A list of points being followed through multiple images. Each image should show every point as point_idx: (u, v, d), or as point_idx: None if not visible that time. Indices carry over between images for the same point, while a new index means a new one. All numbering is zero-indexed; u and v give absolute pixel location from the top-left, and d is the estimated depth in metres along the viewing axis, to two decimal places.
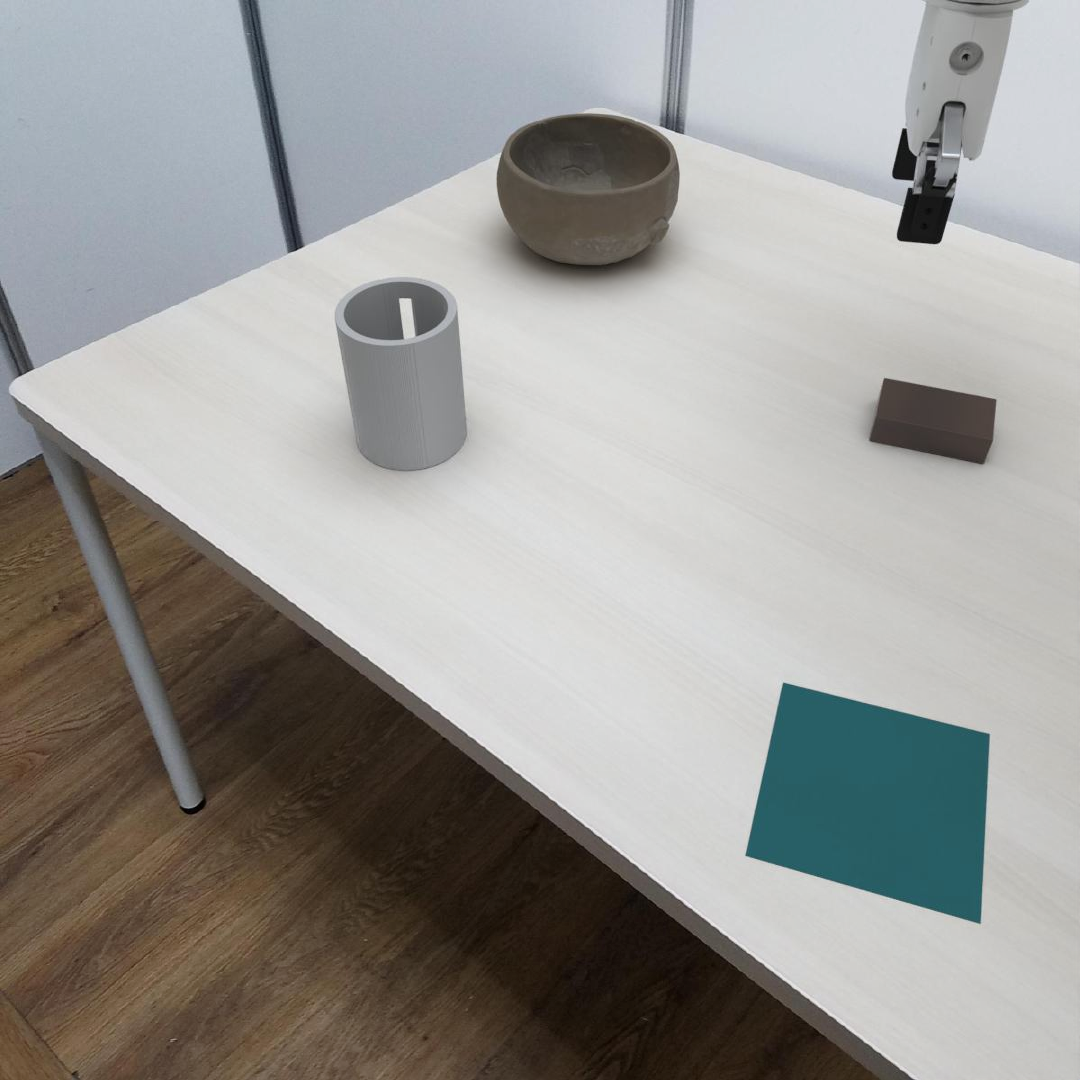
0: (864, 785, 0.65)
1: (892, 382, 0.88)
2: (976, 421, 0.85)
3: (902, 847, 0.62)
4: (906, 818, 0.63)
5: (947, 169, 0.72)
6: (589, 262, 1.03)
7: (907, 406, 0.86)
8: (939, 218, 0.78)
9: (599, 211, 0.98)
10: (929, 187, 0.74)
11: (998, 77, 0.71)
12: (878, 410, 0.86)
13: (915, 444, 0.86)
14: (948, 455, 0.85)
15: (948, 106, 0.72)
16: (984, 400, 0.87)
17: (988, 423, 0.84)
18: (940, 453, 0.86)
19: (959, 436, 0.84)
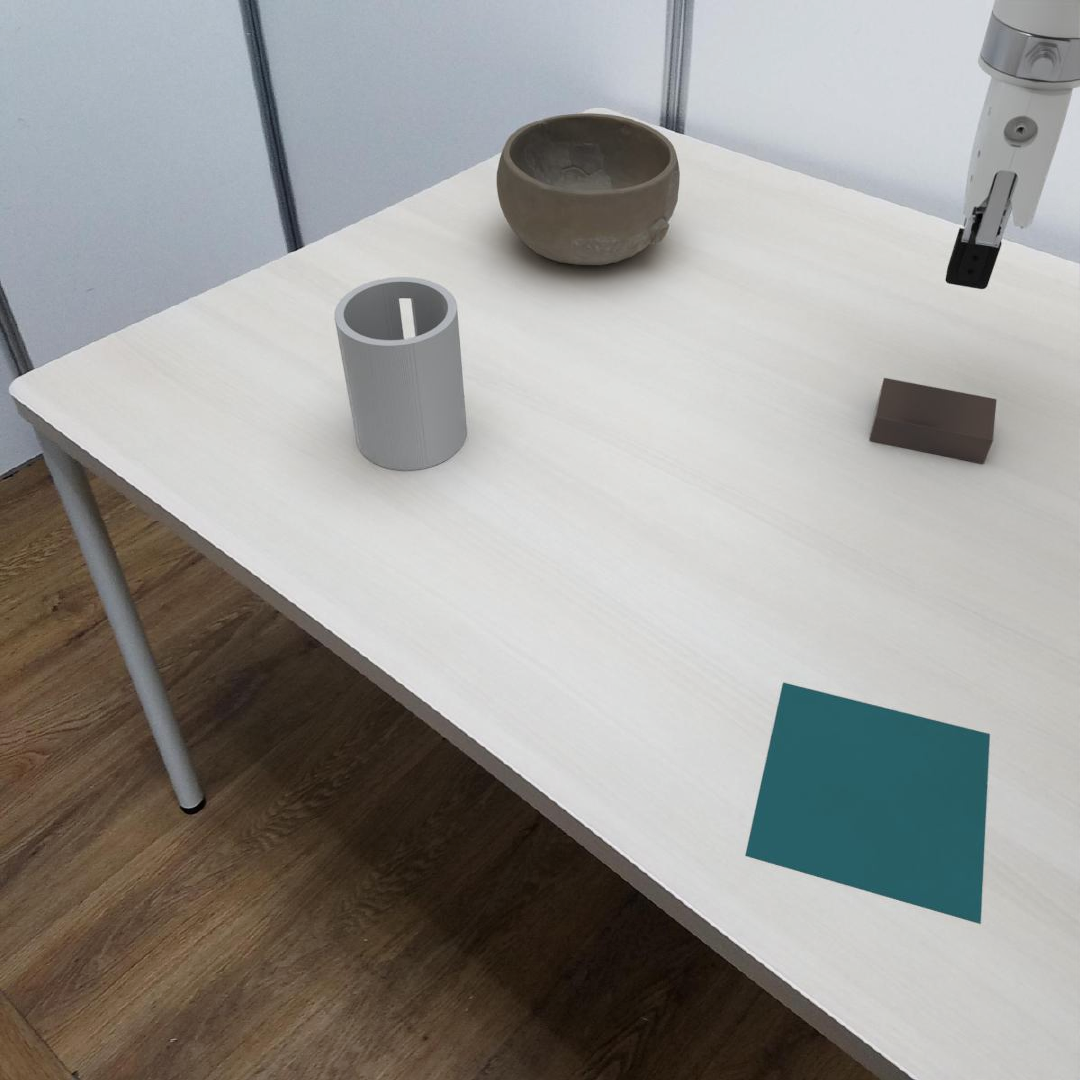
0: (864, 785, 0.65)
1: (892, 382, 0.88)
2: (976, 421, 0.85)
3: (902, 847, 0.62)
4: (906, 818, 0.63)
5: None
6: (589, 262, 1.03)
7: (907, 406, 0.86)
8: (986, 265, 0.83)
9: (599, 211, 0.98)
10: (974, 237, 0.80)
11: (1052, 152, 0.72)
12: (878, 410, 0.86)
13: (915, 444, 0.86)
14: (948, 455, 0.85)
15: (996, 186, 0.75)
16: (984, 400, 0.87)
17: (988, 423, 0.84)
18: (940, 453, 0.86)
19: (959, 436, 0.84)
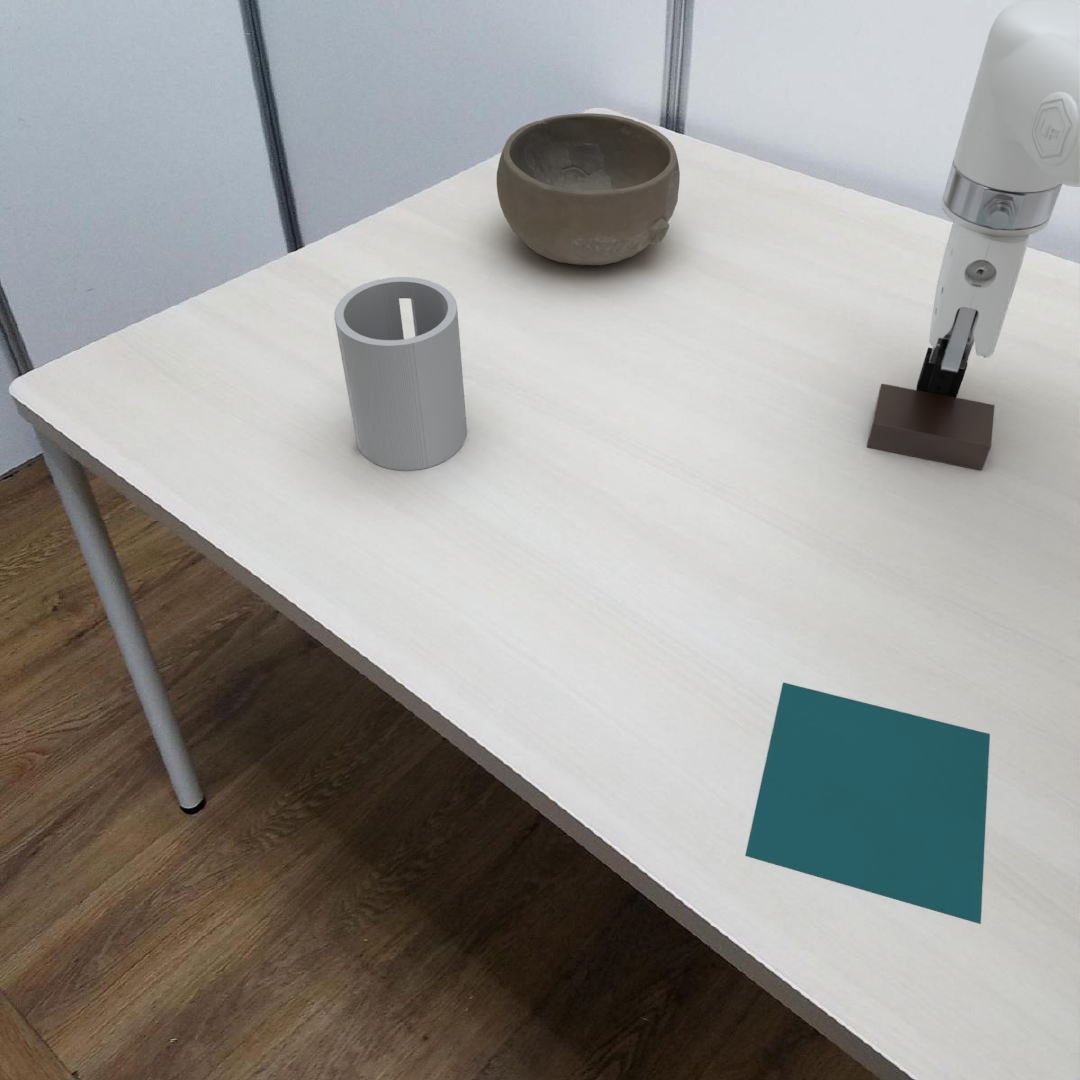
0: (864, 785, 0.65)
1: (889, 388, 0.88)
2: (974, 427, 0.84)
3: (902, 847, 0.62)
4: (906, 818, 0.63)
5: None
6: (589, 262, 1.03)
7: (904, 412, 0.86)
8: (953, 383, 0.87)
9: (599, 211, 0.98)
10: (941, 360, 0.84)
11: (1010, 292, 0.76)
12: (875, 416, 0.85)
13: (913, 450, 0.85)
14: (946, 461, 0.85)
15: (959, 320, 0.79)
16: (982, 406, 0.86)
17: (986, 430, 0.84)
18: (938, 459, 0.85)
19: (957, 443, 0.83)
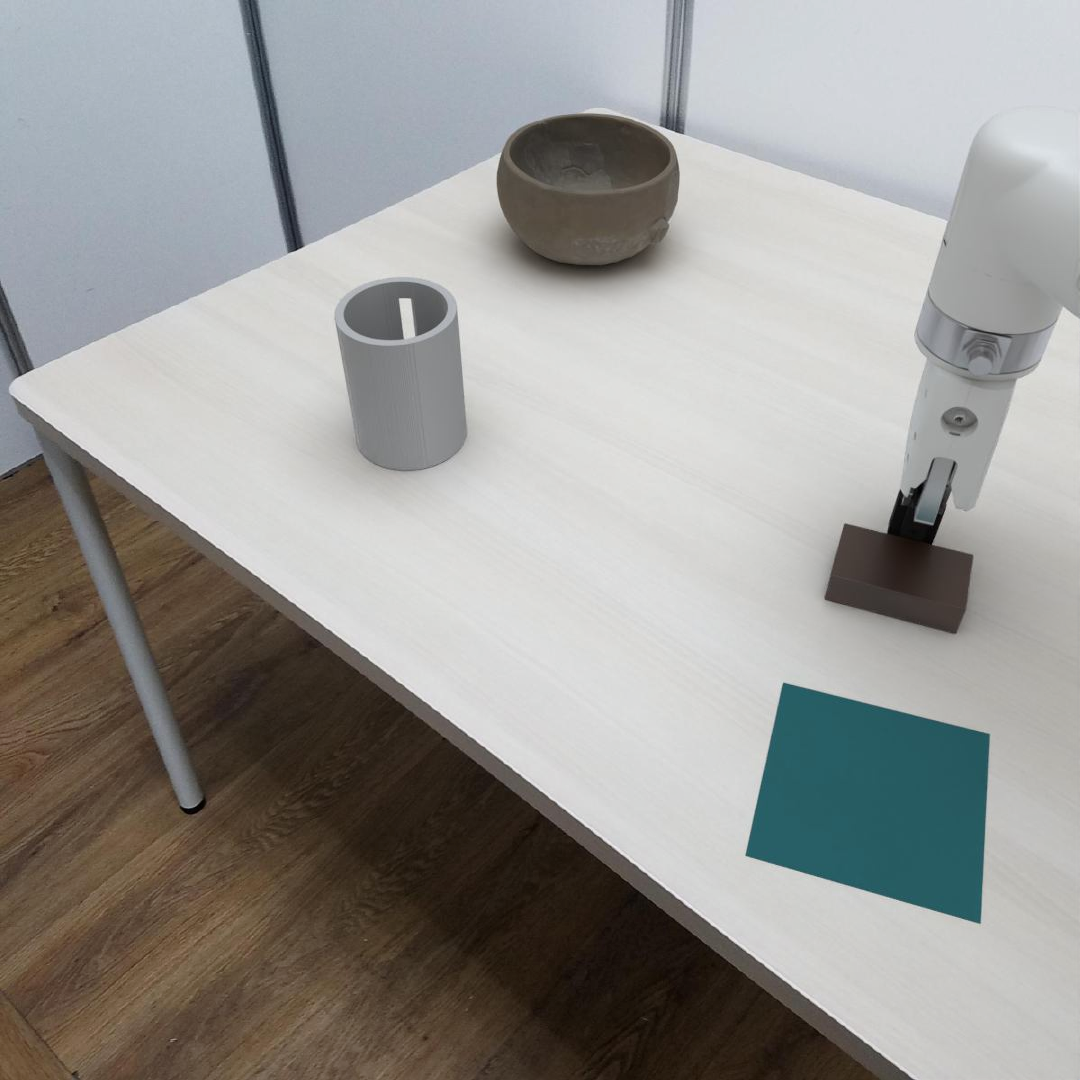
0: (864, 785, 0.65)
1: (853, 529, 0.76)
2: (948, 584, 0.73)
3: (902, 847, 0.62)
4: (906, 818, 0.63)
5: None
6: (589, 262, 1.03)
7: (868, 562, 0.74)
8: (930, 526, 0.75)
9: (599, 211, 0.98)
10: (915, 506, 0.72)
11: (994, 443, 0.64)
12: (834, 566, 0.74)
13: (876, 607, 0.74)
14: (914, 621, 0.73)
15: (934, 468, 0.67)
16: (959, 555, 0.74)
17: (961, 588, 0.72)
18: (905, 618, 0.74)
19: (926, 603, 0.72)
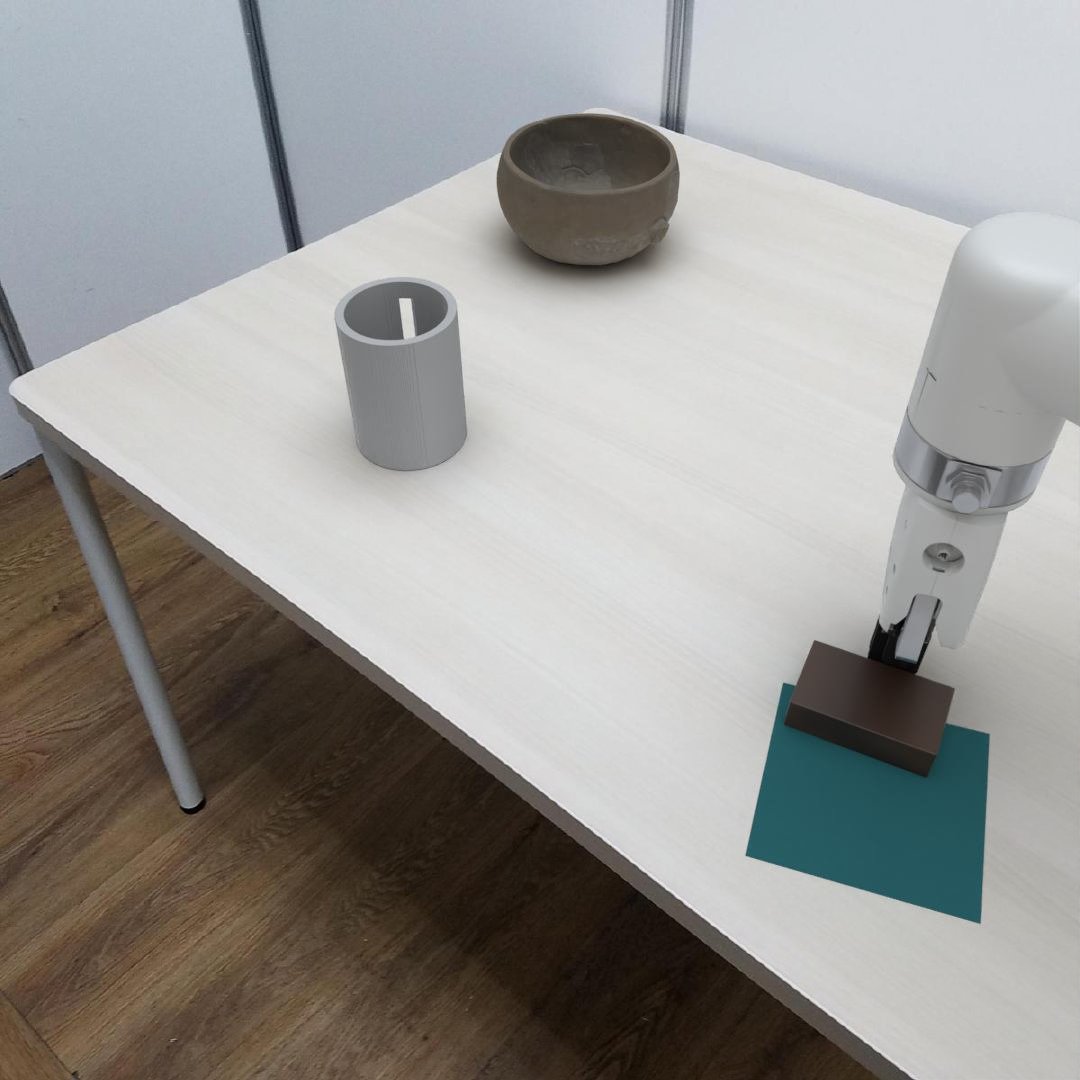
0: (864, 785, 0.65)
1: (823, 648, 0.69)
2: (921, 722, 0.65)
3: (902, 847, 0.62)
4: (906, 818, 0.63)
5: None
6: (589, 262, 1.03)
7: (834, 688, 0.67)
8: None
9: (599, 211, 0.98)
10: None
11: (983, 581, 0.57)
12: (795, 691, 0.66)
13: (840, 740, 0.66)
14: (881, 759, 0.66)
15: (917, 604, 0.60)
16: (939, 688, 0.67)
17: (935, 728, 0.64)
18: (871, 755, 0.66)
19: (894, 743, 0.64)
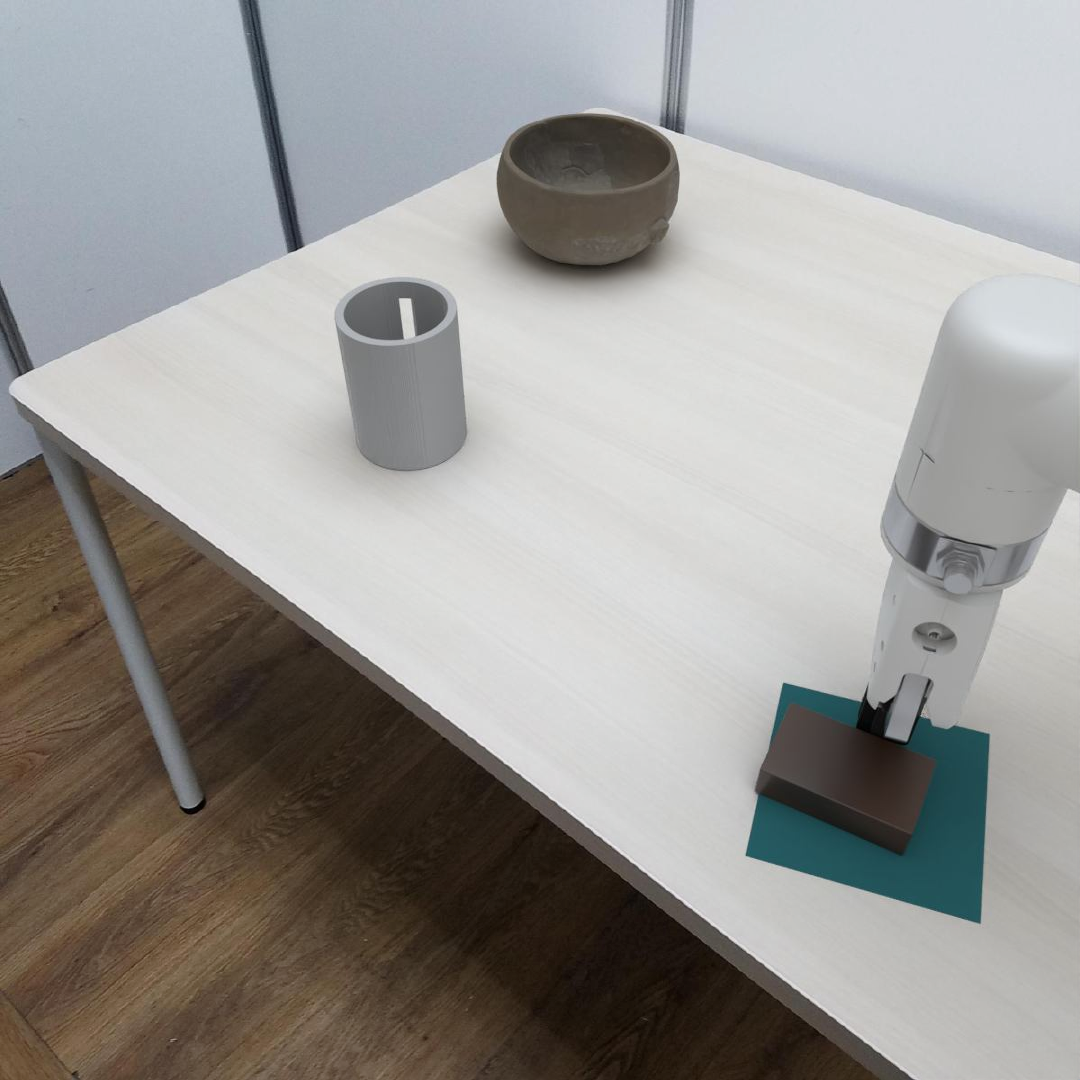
0: None
1: (800, 711, 0.65)
2: (898, 797, 0.61)
3: None
4: None
5: None
6: (589, 262, 1.03)
7: (808, 756, 0.63)
8: None
9: (599, 211, 0.98)
10: None
11: (977, 662, 0.53)
12: (766, 758, 0.63)
13: (812, 811, 0.63)
14: (855, 834, 0.62)
15: (907, 682, 0.56)
16: (919, 760, 0.63)
17: (913, 804, 0.61)
18: (845, 829, 0.62)
19: (868, 819, 0.61)
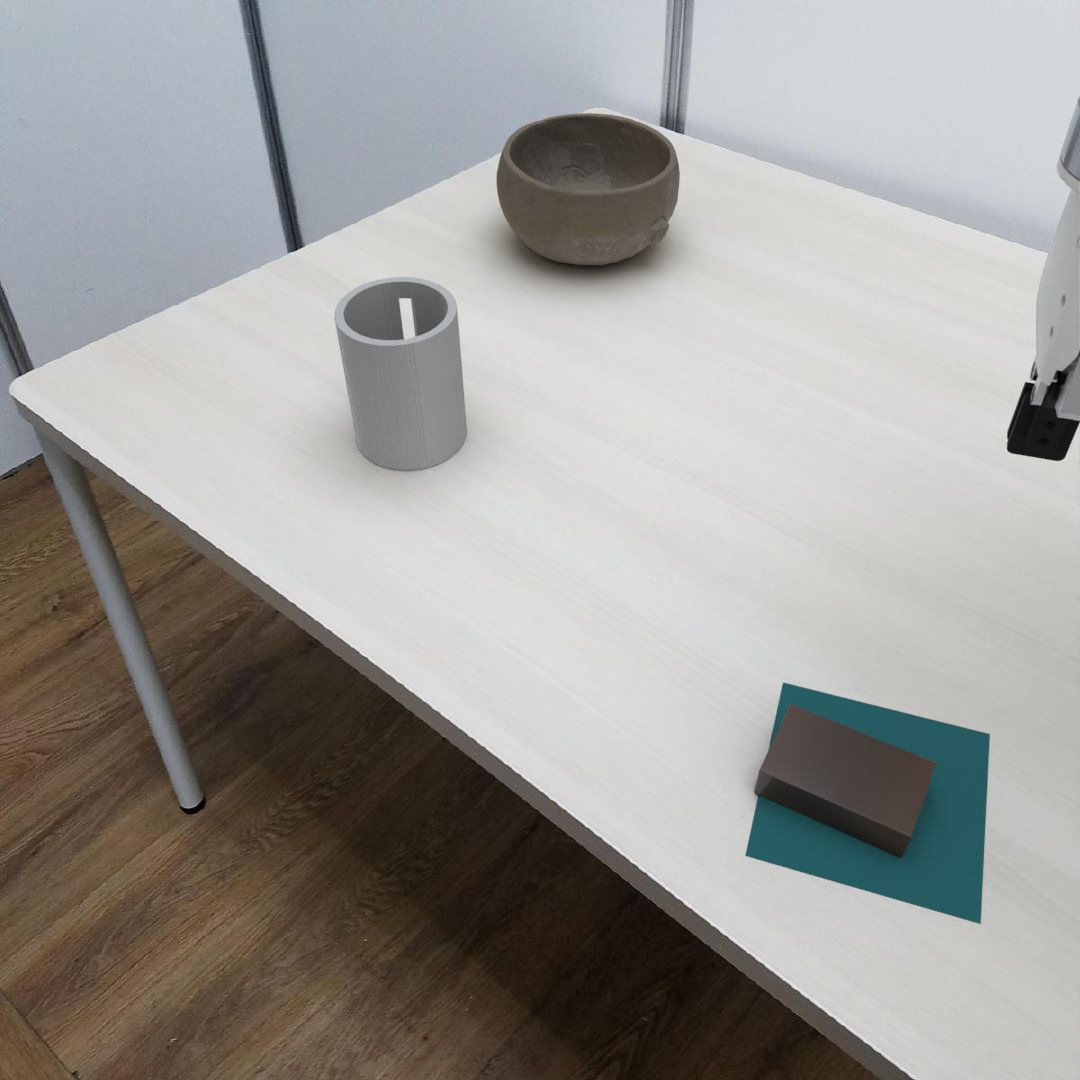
0: None
1: (799, 713, 0.65)
2: (897, 799, 0.61)
3: None
4: None
5: None
6: (589, 262, 1.03)
7: (808, 758, 0.63)
8: (1064, 432, 0.61)
9: (599, 211, 0.98)
10: (1052, 402, 0.58)
11: None
12: (766, 760, 0.63)
13: (811, 813, 0.63)
14: (854, 836, 0.62)
15: None
16: (919, 762, 0.63)
17: (912, 806, 0.61)
18: (844, 831, 0.62)
19: (867, 821, 0.61)
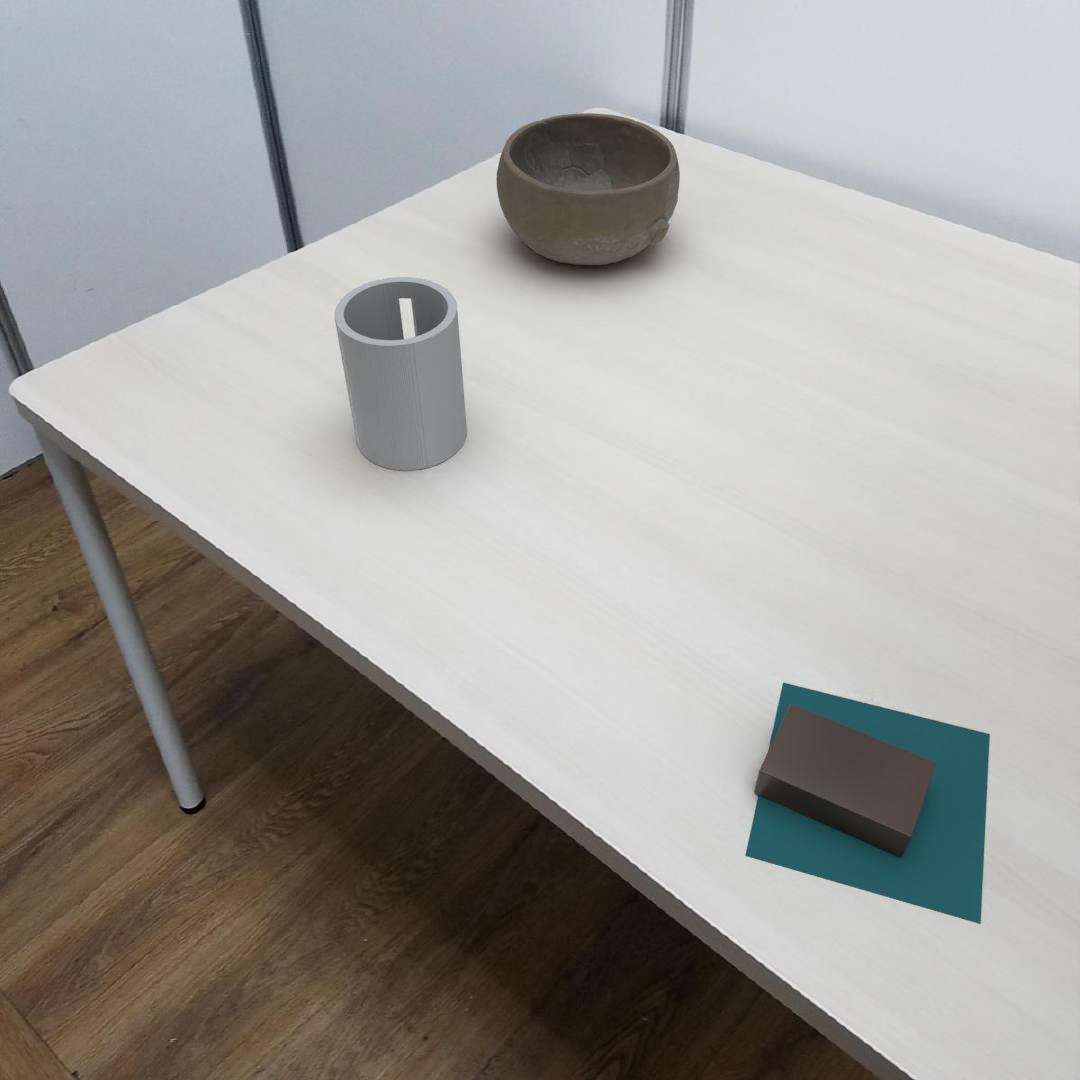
0: None
1: (799, 713, 0.65)
2: (897, 799, 0.61)
3: None
4: None
5: None
6: (589, 262, 1.03)
7: (808, 758, 0.63)
8: None
9: (599, 211, 0.98)
10: None
11: None
12: (766, 760, 0.63)
13: (811, 813, 0.63)
14: (854, 836, 0.62)
15: None
16: (919, 762, 0.63)
17: (912, 806, 0.61)
18: (844, 831, 0.62)
19: (867, 821, 0.61)
